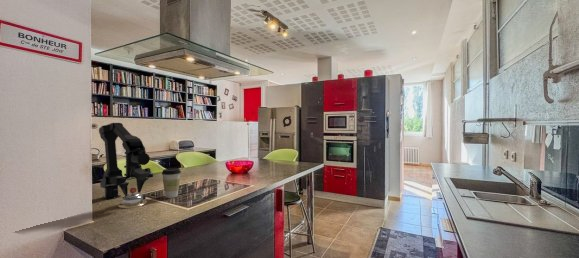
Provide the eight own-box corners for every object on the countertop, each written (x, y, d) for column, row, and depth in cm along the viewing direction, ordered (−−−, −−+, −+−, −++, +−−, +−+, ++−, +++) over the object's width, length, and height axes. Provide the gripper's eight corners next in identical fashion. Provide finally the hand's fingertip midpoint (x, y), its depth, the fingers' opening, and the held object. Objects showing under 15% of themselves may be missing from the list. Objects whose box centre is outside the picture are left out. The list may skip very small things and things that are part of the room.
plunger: (122, 196, 122) (122, 188, 122) (134, 193, 128) (134, 185, 128) (131, 198, 120) (130, 189, 120) (142, 195, 125) (142, 186, 125)
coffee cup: (175, 198, 133) (175, 171, 133) (157, 198, 133) (157, 171, 133) (184, 193, 143) (184, 168, 143) (167, 193, 143) (167, 168, 143)
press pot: (112, 206, 121) (112, 198, 121) (137, 199, 132) (137, 192, 132) (129, 209, 116) (128, 201, 116) (152, 202, 128) (152, 194, 128)
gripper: (124, 167, 112) (124, 201, 112) (160, 161, 129) (160, 191, 129) (109, 165, 116) (109, 198, 117) (145, 160, 133) (145, 189, 134)
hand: (132, 194), depth 124 cm, fingers open, 6 cm apart
